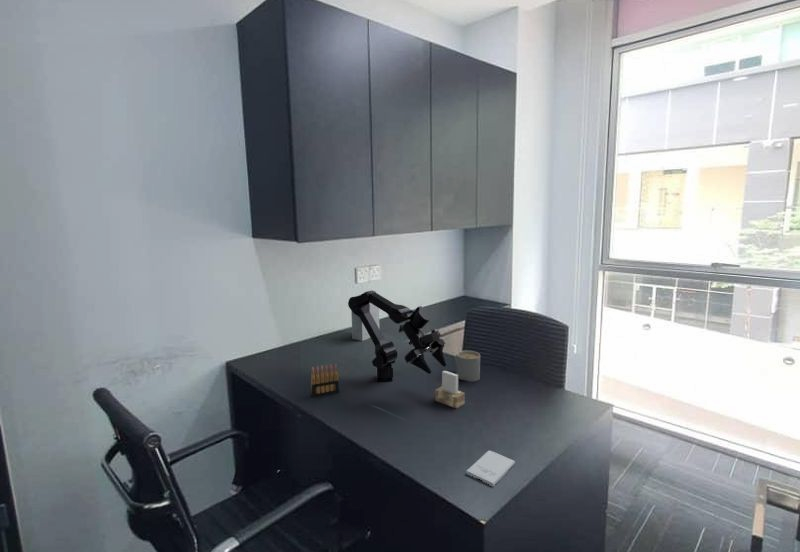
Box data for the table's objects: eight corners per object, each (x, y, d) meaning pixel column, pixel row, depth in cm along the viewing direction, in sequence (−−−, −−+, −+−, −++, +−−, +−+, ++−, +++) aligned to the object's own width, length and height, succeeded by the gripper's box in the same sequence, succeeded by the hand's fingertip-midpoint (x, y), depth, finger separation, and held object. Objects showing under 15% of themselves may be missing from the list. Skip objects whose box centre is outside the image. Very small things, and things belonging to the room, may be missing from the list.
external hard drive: (514, 466, 113) (493, 488, 104) (488, 454, 119) (465, 475, 109) (515, 460, 113) (493, 483, 104) (488, 449, 118) (465, 469, 109)
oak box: (434, 401, 151) (434, 390, 150) (443, 396, 154) (443, 385, 154) (456, 409, 144) (456, 397, 144) (464, 404, 148) (464, 392, 147)
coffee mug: (483, 380, 169) (484, 357, 168) (462, 383, 166) (462, 359, 165) (469, 368, 182) (469, 347, 180) (448, 371, 179) (449, 349, 177)
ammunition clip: (311, 397, 154) (310, 367, 152) (310, 395, 156) (309, 365, 154) (339, 392, 158) (338, 363, 156) (338, 390, 160) (337, 361, 158)
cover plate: (441, 400, 151) (442, 371, 149) (444, 398, 152) (444, 370, 150) (455, 405, 147) (455, 376, 145) (457, 403, 148) (458, 374, 146)
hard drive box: (369, 332, 237) (369, 298, 234) (380, 334, 232) (379, 300, 229) (351, 339, 224) (350, 303, 221) (362, 341, 220) (361, 305, 217)
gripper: (410, 328, 145) (435, 365, 140) (441, 318, 159) (465, 351, 153) (394, 345, 152) (417, 381, 146) (425, 334, 165) (447, 366, 160)
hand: (438, 369), depth 151 cm, fingers open, 9 cm apart
